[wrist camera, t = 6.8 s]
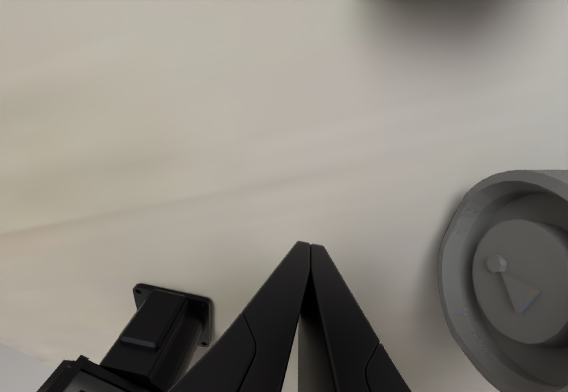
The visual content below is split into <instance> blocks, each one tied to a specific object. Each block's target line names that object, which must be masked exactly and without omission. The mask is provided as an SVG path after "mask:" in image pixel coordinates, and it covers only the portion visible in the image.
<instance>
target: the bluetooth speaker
mask: <svg viewBox="0 0 568 392" xmlns="http://www.w3.org/2000/svg"><path fill="white" fill-rule="evenodd" d="M438 283H439V292H440V298H441V303H442V307H443V311H444V315H445V318H446V322H447V324H448V327H449V329H450V331H451V334H452V335H453V337H454V339H455V340H456V342H457V343H458V345H459V346H460V348H461V349H462V351H463V352H464V353H465V355H466V356H467V357H468V359H469V360H470V361H471V362H472V364H473V365H474V366H475V368H476V369H477V370H478V371H479V372H480V373H481V374H482V376H483V377H484V378H485V379H486V380H487V381H488V382H489V383H491V384H492V385H493V386H494V387H495V388H496V389H498V390H499V391H500V392H568V170H515V171H507V172H502V173H498V174H495V175H492V176H490V177H488V178H486V179H484V180H482V181H481V182H479V183H478V184H476V185H475V186H474V187H473V188H471V189H470V190H469V191H468V192H467V193H466V195H465V197H464V198H463V200H462V202H461V204H460V206H459V208H458V210H457V212H456V213H455V215H454V217H453V219H452V221H451V224H450V226H449V228H448V230H447V232H446V234H445V236H444V238H443V241H442V243H441V248H440V252H439V260H438Z"/></svg>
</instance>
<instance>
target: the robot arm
mask: <svg viewBox="0 0 568 392" xmlns="http://www.w3.org/2000/svg"><path fill="white" fill-rule="evenodd" d="M133 294H134V298H135V303H136V307H137V312H136V313H135V315H134V316H133V317H132V319H131V320H130V322H129V323H128V324H127V326H126V327H125V329H124V330H123V331H122V333H121V334H120V336H119V338H118V339H117V340H116V342H115V343H114V345H113V346H112V347H111V349H110V350H109V352H108V353H107V354H106V356H105V357H104V359H103V360H102V361H101V363H100V364H99V365H97V364H95V363H93V362H91V361H89V360H88V359H89V358H87V357H85V356H83V355H80V357H79V358H78V359H77V360H76V361H74V360H73V361H69V360H63V362H62V363H61V364H60V365H59V366H58V367H57V369H56V370H55V371H54V372H53V373H52V375H51V376H50V377H49V378H48V379H47V381H46V382H45V383H44V384H43V385H42V386H41V387H40V389H39V390H38V391H37V392H281V391H282V386H283V382H284V378H285V374H286V370H287V366H288V362H289V357H290V353H291V349H292V345H293V341H294V337H295V332H296V328H297V324H298V320H299V330H298V392H411V390H410V389H409V387H408V386H407V384H406V383H405V381H404V380H403V378H402V377H401V375H400V373H399V372H398V370H397V369H396V367H395V365H394V364H393V362H392V361H391V359H390V357H389V356H388V354H387V352H386V351H385V349H384V347H383V345H382V344H379V342H380V341H379V339H378V337H377V335H376V334H375V332H374V330H373V329H372V327H371V325H370V324H369V322H368V320H367V319H366V317H365V315H364V313H363V312H362V310H361V308H360V307H359V305H358V303H357V302H356V300H355V298H354V296H353V295H352V293H351V291H350V290H349V288H348V286H347V285H346V283H345V281H344V280H343V278H342V276H341V274H340V273H339V271H338V269H337V268H336V266H335V264H334V263H333V261H332V259H331V258H330V256H329V254H328V252H327V251H326V249H325V247H324V246H322V245H317V244H311V245H310V244H309V243H307V242H302V241H298V242H296V244H295V245H294V246H293V247H292V249H291V250H290V251H289V253H288V254H287V255H286V256H285V258H284V259H283V260H282V261H281V263H280V264H279V265H278V266H277V268H276V269H275V270H274V272H273V273H272V274H271V275H270V277H269V278H268V279H267V280H266V282H265V283H264V284H263V285H262V287H261V288H260V289H259V291H258V292H257V293H256V294H255V296H254V297H253V298H252V299H251V301H250V302H249V303H248V304H247V306H246V307H245V308H244V310H243V311H242V313H241V314H239V316H238V317H237V318H236V319H235V321H234V322H233V323H232V324H231V326H230V327H229V328H228V329H227V330H226V332H225V333H224V334H223V335H222V336H221V337H220V339H219V340H218V341H217V342H216V343H215V344H214V345H213V346H212V347H211V348H210V349H209V350H208V352H207V353H206V354H205V355H204V356H203V357H202V358H201V359H200V360H199V361H198V362H197V363H196V364H195V365H194V366H193V367H192V368H191V369H190V370H189V371H188V372H187V373H186V371H187V369H188V366H189V364H190V362H191V359H192V357H193V355H194V352H195V350H196V348H197V345H198V346H203V347H208V346H209V344H210V342H211V301H210V300H209V299H208V298H205V297H201V296H196V295H191V294H186V293H182V292H177V291H172V290H168V289H163V288H158V287H154V286H149V285H144V284H136V286H135V287H134V288H133ZM185 373H186V374H185Z"/></svg>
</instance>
